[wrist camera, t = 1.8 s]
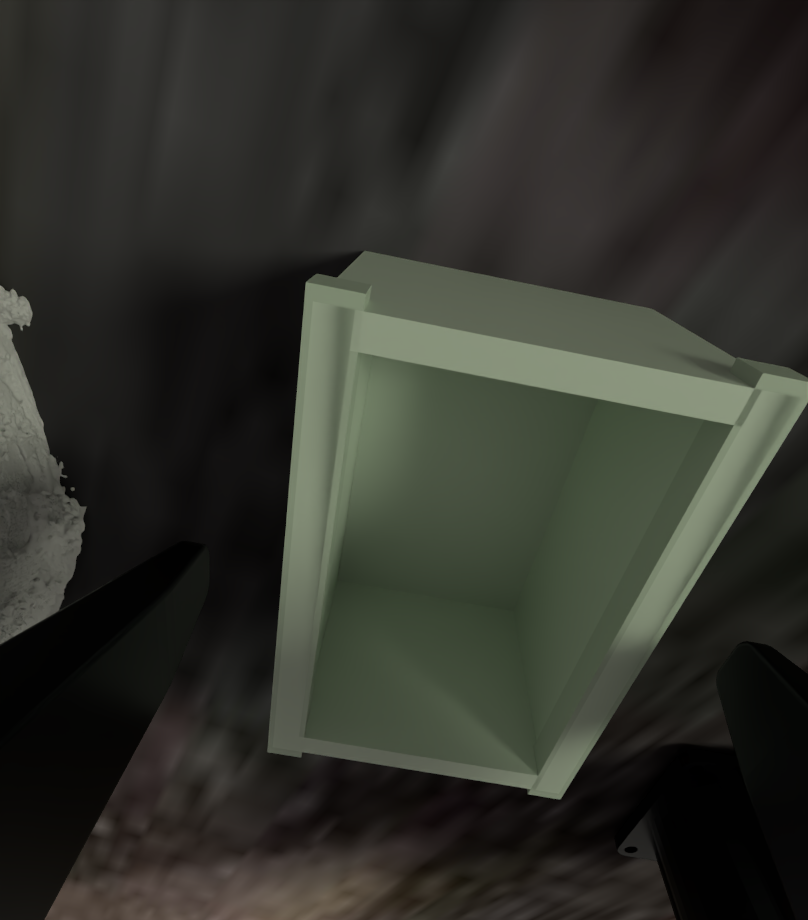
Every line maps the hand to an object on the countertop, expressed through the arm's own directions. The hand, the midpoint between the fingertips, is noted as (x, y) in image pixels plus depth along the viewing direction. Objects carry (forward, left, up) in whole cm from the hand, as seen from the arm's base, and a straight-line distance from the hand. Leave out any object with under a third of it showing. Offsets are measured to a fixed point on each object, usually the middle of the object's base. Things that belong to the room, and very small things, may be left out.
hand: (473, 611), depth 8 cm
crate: (0, 0, -5) cm, 5 cm away
